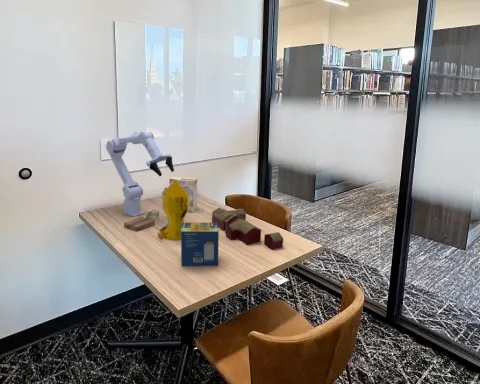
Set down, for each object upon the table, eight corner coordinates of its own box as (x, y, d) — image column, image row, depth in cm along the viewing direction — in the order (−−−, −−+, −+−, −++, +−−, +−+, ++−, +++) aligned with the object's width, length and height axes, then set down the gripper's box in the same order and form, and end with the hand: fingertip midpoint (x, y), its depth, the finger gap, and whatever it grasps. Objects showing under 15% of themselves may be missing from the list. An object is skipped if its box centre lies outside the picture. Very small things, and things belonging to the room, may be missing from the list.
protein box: (182, 255, 160) (182, 222, 156) (217, 255, 161) (218, 222, 157) (180, 266, 150) (180, 231, 146) (218, 266, 151) (219, 231, 147)
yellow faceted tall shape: (169, 246, 169) (168, 187, 161) (149, 229, 188) (147, 176, 180) (202, 238, 178) (202, 183, 171) (180, 223, 198) (179, 173, 190)
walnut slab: (124, 228, 190) (123, 222, 189) (142, 221, 200) (141, 216, 199) (137, 232, 185) (137, 227, 184) (154, 225, 194) (154, 220, 194)
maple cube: (146, 219, 203) (145, 210, 201) (153, 217, 207) (152, 208, 205) (152, 221, 200) (152, 212, 199) (159, 218, 204) (159, 210, 203)
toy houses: (207, 224, 199) (207, 206, 196) (239, 218, 209) (240, 201, 206) (252, 256, 162) (253, 235, 159) (289, 247, 172) (290, 227, 169)
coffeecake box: (169, 210, 219) (168, 178, 214) (174, 206, 226) (173, 175, 221) (193, 212, 216) (193, 180, 211) (197, 209, 223) (197, 177, 218)
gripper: (144, 151, 184) (157, 173, 182) (168, 144, 193) (181, 165, 191) (140, 158, 190) (153, 180, 188) (164, 151, 199) (176, 171, 197)
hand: (167, 173), depth 190 cm, fingers open, 7 cm apart
